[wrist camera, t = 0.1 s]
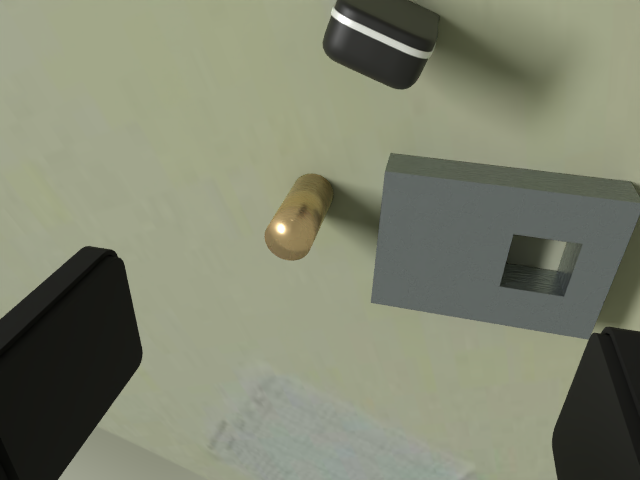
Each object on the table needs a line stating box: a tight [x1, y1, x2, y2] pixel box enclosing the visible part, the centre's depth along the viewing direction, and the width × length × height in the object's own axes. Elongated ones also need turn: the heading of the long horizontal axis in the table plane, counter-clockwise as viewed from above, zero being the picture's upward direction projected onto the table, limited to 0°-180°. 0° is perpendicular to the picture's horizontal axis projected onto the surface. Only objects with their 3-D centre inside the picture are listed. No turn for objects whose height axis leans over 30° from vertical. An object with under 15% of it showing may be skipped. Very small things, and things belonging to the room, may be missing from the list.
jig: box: [371, 153, 640, 339], centre depth 48 cm, size 14×20×4 cm
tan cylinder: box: [265, 174, 333, 260], centre depth 47 cm, size 4×4×9 cm
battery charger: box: [323, 0, 440, 89], centre depth 37 cm, size 7×4×11 cm, turn 69°
